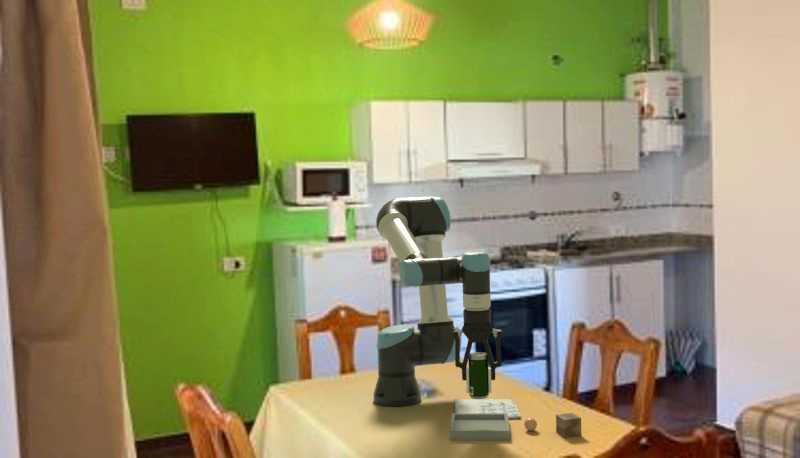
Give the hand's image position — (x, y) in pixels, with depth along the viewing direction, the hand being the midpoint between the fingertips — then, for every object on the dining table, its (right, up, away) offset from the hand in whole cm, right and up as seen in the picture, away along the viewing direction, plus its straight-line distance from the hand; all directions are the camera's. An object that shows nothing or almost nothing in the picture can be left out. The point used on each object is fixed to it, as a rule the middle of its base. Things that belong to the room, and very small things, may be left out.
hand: (479, 391), depth 228 cm
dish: (0, -11, +1) cm, 11 cm away
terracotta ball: (+14, -9, -1) cm, 17 cm away
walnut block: (+24, -11, -4) cm, 27 cm away
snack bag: (+4, -10, +21) cm, 23 cm away
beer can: (0, -2, 0) cm, 2 cm away
